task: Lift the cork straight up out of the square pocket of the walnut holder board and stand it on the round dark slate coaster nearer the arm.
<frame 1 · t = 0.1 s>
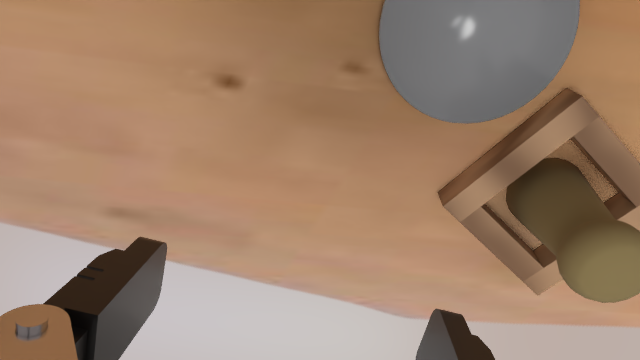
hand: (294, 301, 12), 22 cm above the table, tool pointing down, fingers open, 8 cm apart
slate coaster: (472, 29, 30), on the table
cork: (543, 191, 35), resting in holder board
holder board: (544, 192, 34), on the table
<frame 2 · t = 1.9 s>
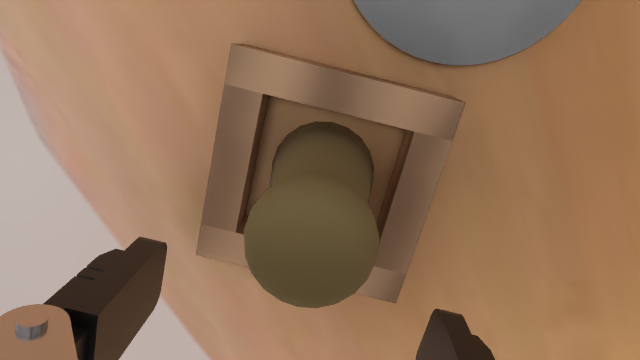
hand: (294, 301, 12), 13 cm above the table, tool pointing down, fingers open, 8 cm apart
cork: (322, 170, 26), resting in holder board
holder board: (322, 171, 25), on the table
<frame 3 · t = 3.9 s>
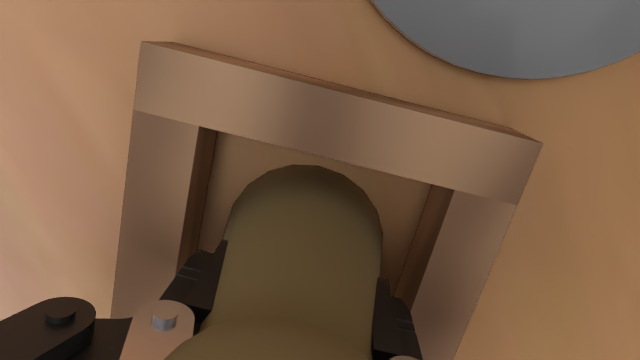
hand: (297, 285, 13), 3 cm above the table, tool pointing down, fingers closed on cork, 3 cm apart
cork: (304, 237, 17), resting in holder board, touching gripper
holder board: (304, 240, 16), on the table
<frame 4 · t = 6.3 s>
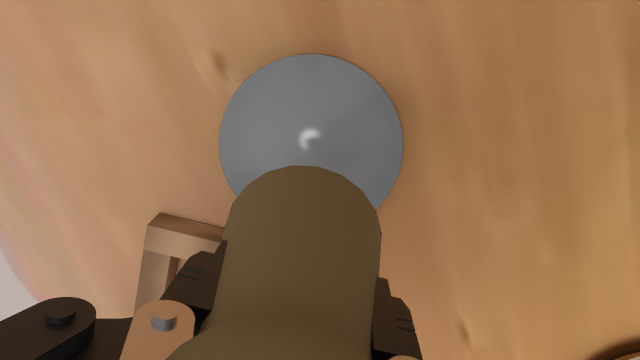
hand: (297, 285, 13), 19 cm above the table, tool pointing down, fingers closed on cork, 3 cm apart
slate coaster: (311, 147, 31), on the table
cork: (303, 238, 17), point 15 cm above the table, touching gripper
holder board: (221, 296, 35), on the table
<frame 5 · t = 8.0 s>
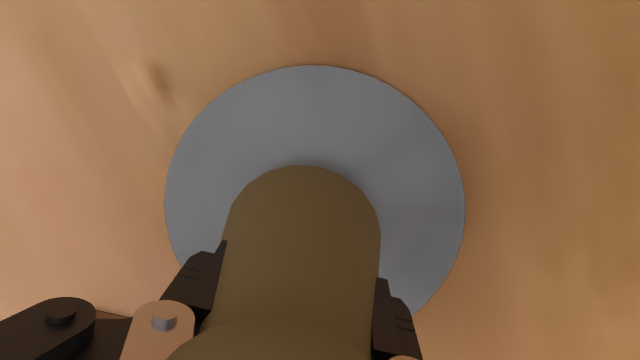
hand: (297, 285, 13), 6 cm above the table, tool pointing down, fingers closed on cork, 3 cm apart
slate coaster: (313, 212, 19), on the table
cork: (302, 237, 17), point 3 cm above the table, touching gripper
when the fingers open (5 cm above the table, at t = 8.9 s): cork drops 1 cm, resting on slate coaster.
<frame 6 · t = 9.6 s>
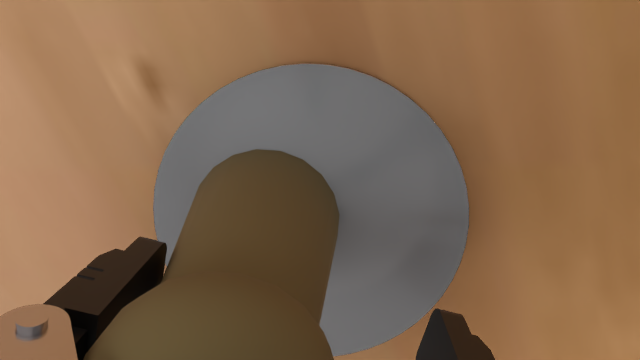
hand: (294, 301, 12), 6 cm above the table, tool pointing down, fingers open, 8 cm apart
slate coaster: (310, 217, 19), on the table
cork: (266, 218, 18), point 1 cm above the table, touching gripper, slate coaster
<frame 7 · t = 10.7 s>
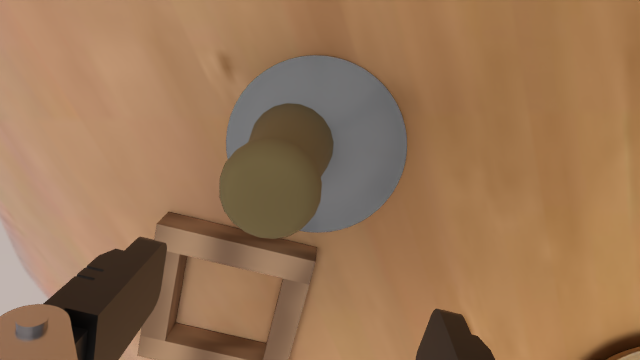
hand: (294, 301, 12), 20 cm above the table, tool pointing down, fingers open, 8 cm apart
slate coaster: (316, 146, 32), on the table
cork: (291, 144, 31), point 1 cm above the table, touching slate coaster
holder board: (229, 293, 36), on the table
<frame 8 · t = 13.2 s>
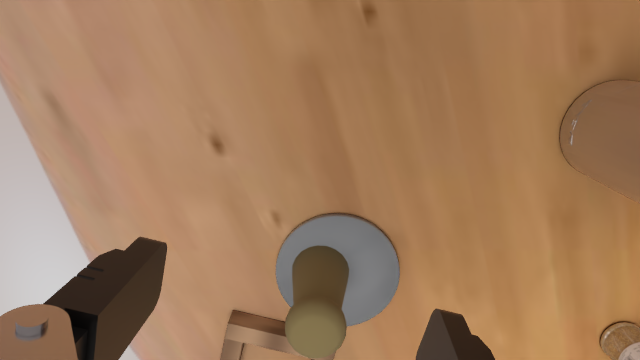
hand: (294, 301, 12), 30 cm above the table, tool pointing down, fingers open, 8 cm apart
sprinkles bottle: (618, 336, 47), on the table
slate coaster: (337, 269, 46), on the table
cork: (320, 270, 45), point 1 cm above the table, touching slate coaster
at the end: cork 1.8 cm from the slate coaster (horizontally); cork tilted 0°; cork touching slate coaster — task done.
